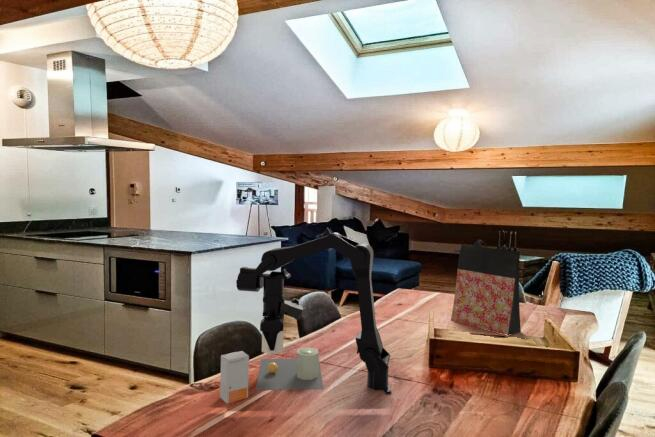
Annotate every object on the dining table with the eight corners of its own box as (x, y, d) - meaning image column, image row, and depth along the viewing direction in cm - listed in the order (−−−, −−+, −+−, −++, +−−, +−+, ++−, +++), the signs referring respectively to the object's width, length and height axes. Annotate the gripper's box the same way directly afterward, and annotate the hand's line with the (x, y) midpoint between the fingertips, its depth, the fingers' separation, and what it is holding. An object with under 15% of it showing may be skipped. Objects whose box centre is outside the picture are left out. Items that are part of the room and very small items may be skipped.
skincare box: (226, 407, 111) (227, 360, 110) (219, 400, 115) (220, 354, 114) (249, 401, 115) (249, 355, 114) (241, 394, 118) (242, 350, 117)
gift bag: (524, 330, 180) (528, 243, 178) (505, 337, 171) (509, 245, 169) (461, 313, 203) (464, 236, 201) (441, 319, 194) (444, 238, 192)
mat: (323, 392, 120) (323, 389, 120) (255, 393, 119) (255, 389, 119) (318, 361, 142) (318, 358, 142) (261, 362, 141) (261, 358, 141)
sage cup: (318, 379, 126) (319, 355, 126) (297, 379, 126) (297, 355, 125) (317, 371, 132) (317, 347, 132) (296, 371, 132) (297, 347, 131)
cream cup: (282, 353, 127) (283, 329, 127) (261, 353, 127) (261, 329, 126) (283, 346, 133) (283, 323, 133) (262, 346, 133) (262, 323, 132)
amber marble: (277, 375, 129) (277, 364, 129) (267, 375, 129) (267, 364, 128) (277, 370, 132) (278, 360, 132) (267, 370, 132) (267, 360, 131)
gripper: (302, 301, 120) (301, 358, 121) (300, 286, 139) (300, 335, 140) (260, 300, 119) (259, 358, 120) (264, 286, 138) (263, 336, 139)
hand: (272, 346), depth 130 cm, fingers closed on cream cup, 6 cm apart
